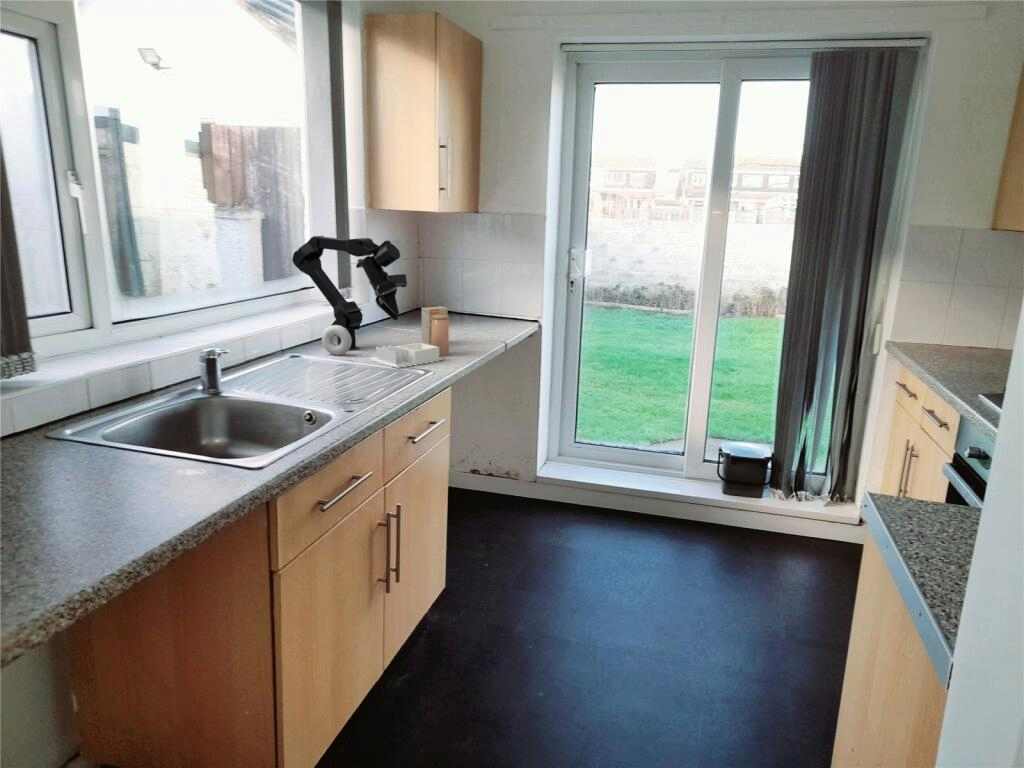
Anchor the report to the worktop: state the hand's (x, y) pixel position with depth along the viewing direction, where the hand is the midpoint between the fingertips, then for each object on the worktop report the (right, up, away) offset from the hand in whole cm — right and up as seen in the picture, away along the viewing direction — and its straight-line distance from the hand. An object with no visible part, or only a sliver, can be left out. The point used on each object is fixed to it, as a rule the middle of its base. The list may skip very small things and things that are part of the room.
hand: (397, 317), depth 231 cm
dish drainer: (+4, -14, -4) cm, 15 cm away
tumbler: (+13, -12, +6) cm, 19 cm away
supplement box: (+10, -8, +23) cm, 26 cm away
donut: (-20, -12, +2) cm, 24 cm away
